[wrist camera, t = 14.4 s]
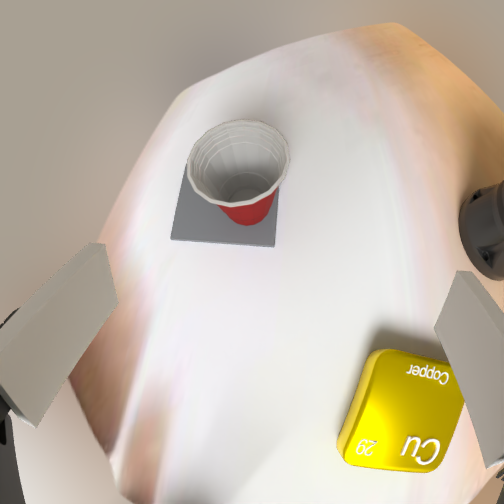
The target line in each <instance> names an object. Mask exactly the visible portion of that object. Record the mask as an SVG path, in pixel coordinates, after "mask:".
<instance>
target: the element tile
mask: <svg viewBox="0 0 504 504" xmlns="http://www.w3.org/2000/svg"><path fill="white" fill-rule="evenodd" d="M464 402H465V400H464V398H463V395H462V392H461V390H460V387H459V385H458V382H457V380H456V377H455V375H454V372H453V370H452V368H451V365H450V363H449V362H445V361H441V360H436V359H432V358H428V357H424V356H420V355H416V354H412V353H408V352H404V351H400V350H396V349H379V350H375V351H373V352H372V353H371V354H370V355H369V356H368V358H367V360H366V362H365V365H364V368H363V371H362V374H361V377H360V380H359V383H358V386H357V389H356V392H355V395H354V398H353V401H352V403H351V406H350V409H349V411H348V414H347V417H346V419H345V422H344V424H343V427H342V429H341V432H340V434H339V437H338V439H337V450H338V451H339V453H340V455H341V456H342V458H343V459H344V461H345V462H347V463H348V464H350V465H353V466H359V467H366V468H373V469H381V470H391V471H402V472H416V473H428V472H431V471H433V470H435V469H436V468H437V467H438V466H439V465H440V464H441V462H442V461H443V459H444V456H445V454H446V452H447V449H448V447H449V444H450V442H451V439H452V437H453V434H454V431H455V429H456V426H457V423H458V420H459V417H460V414H461V411H462V408H463V405H464Z"/></svg>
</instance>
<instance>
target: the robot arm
mask: <svg viewBox="0 0 504 504" xmlns="http://www.w3.org/2000/svg"><path fill="white" fill-rule="evenodd" d="M459 229H460V235H461V240H462V243H463V246H464V248H465V251H466V253H467V255H468V257H469V259H470V260H471V262H472V263H473V265H474V266H475V267H476V268H477V269H478V270H479V271H480V272H481V273H482V274H483V275H485V276H486V277H488V278H490V279H492V280H497V281H501V280H504V181H502V182H501V183H499V184H496V185H492V186H489V187H485V188H482V189H479V190H477V191H475V192H474V193H473V194H472V195H471V196H469V197H468V198H467V199H466V200H465V202H464V203H463V205H462V208H461V211H460V216H459ZM118 303H119V302H118V298H117V294H116V290H115V286H114V282H113V278H112V274H111V269H110V265H109V260H108V255H107V251H106V246H105V244H99V243H89V244H88V245H86V246H85V247H84V248H83V249H82V250H81V251H80V252H79V253H77V254H76V255H75V256H74V257H73V258H72V259H70V260H69V261H68V262H67V263H66V264H65V265H64V266H63V267H62V268H61V269H59V270H58V271H57V272H56V273H55V274H54V275H53V276H52V277H51V278H50V279H49V280H48V281H47V282H46V283H45V284H44V285H42V286H41V287H40V288H39V289H38V290H37V291H36V293H34V294H33V295H32V296H31V297H30V298H29V299H28V300H27V301H26V302H25V303H24V304H23V305H22V306H21V307H20V308H18V309H17V310H15V311H13V312H12V313H11V314H10V315H9V316H8V318H7V319H6V320H5V321H4V324H3V323H2V324H1V325H0V504H26V503H25V499H24V495H23V491H22V487H21V482H20V477H19V472H18V466H17V460H16V453H15V446H14V438H13V429H12V421H11V417H10V416H9V415H8V412H9V411H10V409H12V411H13V412H14V413H15V414H16V415H17V416H18V418H19V419H20V420H22V421H23V422H25V423H27V424H29V425H31V426H32V427H34V428H37V426H38V425H39V423H40V421H41V419H42V418H43V416H44V414H45V413H46V411H47V409H48V408H49V406H50V404H51V403H52V401H53V399H54V398H55V396H56V395H57V393H58V391H59V390H60V388H61V387H62V385H63V384H64V382H65V380H66V379H67V377H68V376H69V374H70V373H71V371H72V370H73V368H74V367H75V365H76V364H77V362H78V361H79V359H80V358H81V356H82V355H83V353H84V352H85V350H86V349H87V347H88V346H89V344H90V343H91V341H92V340H93V338H94V337H95V336H96V334H97V333H98V331H99V330H100V328H101V327H102V326H103V324H104V323H105V321H106V320H107V319H108V317H109V316H110V314H111V313H112V312H113V310H114V309H115V308H116V306H117V305H118ZM434 330H435V332H436V334H437V336H438V338H439V340H440V342H441V345H442V347H443V349H444V351H445V354H446V356H447V358H448V360H449V363H450V365H451V368H452V370H453V372H454V375H455V377H456V380H457V382H458V385H459V387H460V390H461V392H462V395H463V398H464V400H465V403H466V406H467V409H468V412H469V414H470V417H471V420H472V423H473V426H474V429H475V432H476V436H477V439H478V442H479V445H480V449H481V452H482V456H483V459H484V463H485V467H486V468H489V467H492V466H495V465H497V464H500V463H503V462H504V313H503V312H502V310H501V309H500V308H499V306H498V305H497V304H496V302H495V301H494V300H493V298H492V297H491V296H490V294H489V293H488V292H487V290H486V289H485V288H484V286H483V285H482V284H481V283H480V281H479V280H478V279H477V278H476V276H475V275H474V274H473V273H472V272H469V271H457V272H456V275H455V277H454V280H453V283H452V285H451V288H450V291H449V293H448V296H447V298H446V301H445V303H444V306H443V308H442V311H441V313H440V315H439V318H438V320H437V322H436V324H435V327H434ZM503 474H504V468H503V469H502V470H501V471H500V472H499V473H498V474H497V476H496V478H499V477H501V476H502V475H503ZM501 480H503V481H504V477H503V478H502V479H501ZM496 504H504V485H503V488H502V491H501V493H500V496H499V498H498V501H497V503H496Z"/></svg>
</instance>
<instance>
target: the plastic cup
mask: <svg viewBox="0 0 504 504" xmlns="http://www.w3.org/2000/svg"><path fill="white" fill-rule="evenodd" d="M289 162H290V155H289V150H288V145H287V142H286V141H285V139H284V138H283V137H282V136H281V134H280V133H279V132H278V131H277V129H275V128H273V127H271V126H269V125H267V124H265V123H263V122H261V121H255V120H247V119H240V120H234V121H229V122H224V123H222V124H220V125H218V126H216V127H214V128H212V129H210V130H208V131H207V132H206V133H205V134H204V135H203V136H202V137H201V138H200V139H199V140H198V141H197V142H196V143H195V144H194V146H193V148H192V150H191V153H190V155H189V157H188V159H187V177H188V179H189V181H190V183H191V185H192V187H193V189H194V191H195V192H196V193H198V194H199V195H200V196H202V197H203V198H204V199H206V200H207V201H208V202H210V203H213V204H217V205H218V207H219V208H220V209H221V210H222V211H223V212H224V213H226V214H227V216H228V217H229V218H230V219H231V220H233V221H234V222H235V223H237V224H240V225H244V226H249V225H255V224H257V223H259V222H261V221H262V220H263V219H264V218H265V217H266V215H267V214H268V212H269V209H270V207H271V205H272V202H273V199H274V196H275V193H276V190H277V189H278V186H279V184H280V183H281V182H282V181H283V180H284V178H285V176H286V172H287V169H288V166H289Z"/></svg>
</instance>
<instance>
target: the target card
mask: <svg viewBox="0 0 504 504" xmlns="http://www.w3.org/2000/svg"><path fill="white" fill-rule="evenodd" d="M278 191H279V186H278V189H277V190H276V193H275V196H274V199H273V202H272V205H271V207H270V209H269V212H268V214H267V215H266V217H265V218H264V219H263V220H262V221H261V222H259V223H257V224H255V225H249V226H244V225H240V224H237V223H235V222H234V221H233V220H231V219H230V218H229V217H228V216H227V214H226V213H224V212H223V211H222V210H221V209H220V208H219V207H218V205H217V204H213V203H210V202H208V201H207V200H206V199H204V198H203V197H202V196H200V195H199V194H198V193H196V192H195V191H194V189H193V187H192V185H191V183H190V181H189V179H188V177H187V164H186V167H185V171H184V176H183V180H182V184H181V189H180V193H179V198H178V203H177V207H176V212H175V217H174V222H173V227H172V232H171V237H170V239H171V240H180V241H194V242H208V243H222V244H236V245H249V246H263V247H274V243H275V231H276V218H277V205H278Z"/></svg>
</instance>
